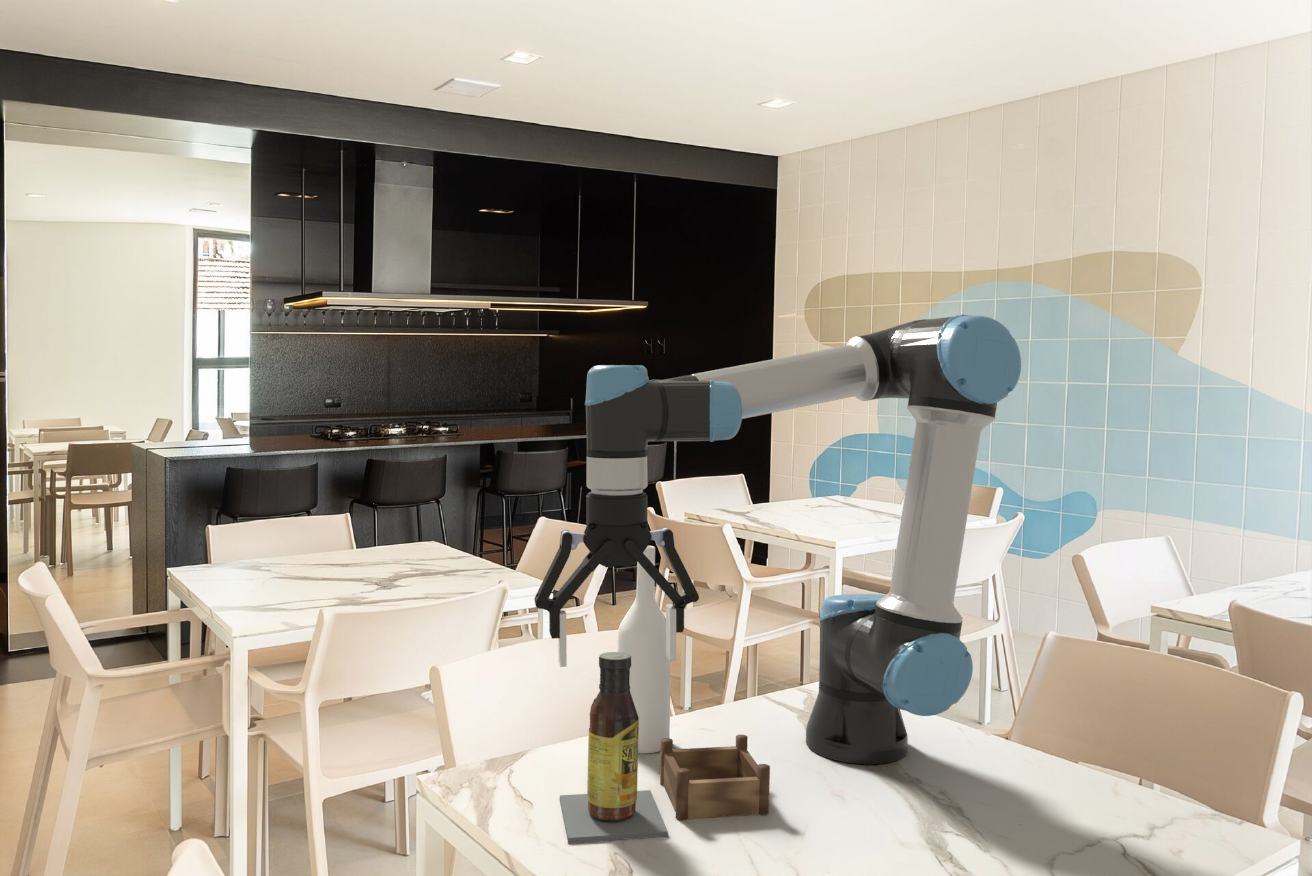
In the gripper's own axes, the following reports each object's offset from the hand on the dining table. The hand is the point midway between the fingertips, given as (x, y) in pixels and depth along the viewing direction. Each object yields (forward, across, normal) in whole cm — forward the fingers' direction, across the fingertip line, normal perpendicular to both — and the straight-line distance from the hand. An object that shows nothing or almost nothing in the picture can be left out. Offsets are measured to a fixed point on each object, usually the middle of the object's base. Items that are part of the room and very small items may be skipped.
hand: (617, 661), depth 121 cm
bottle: (+20, -7, -24) cm, 32 cm away
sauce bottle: (+19, +1, 0) cm, 19 cm away
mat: (+20, +1, 0) cm, 20 cm away
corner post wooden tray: (+20, -13, -4) cm, 24 cm away
